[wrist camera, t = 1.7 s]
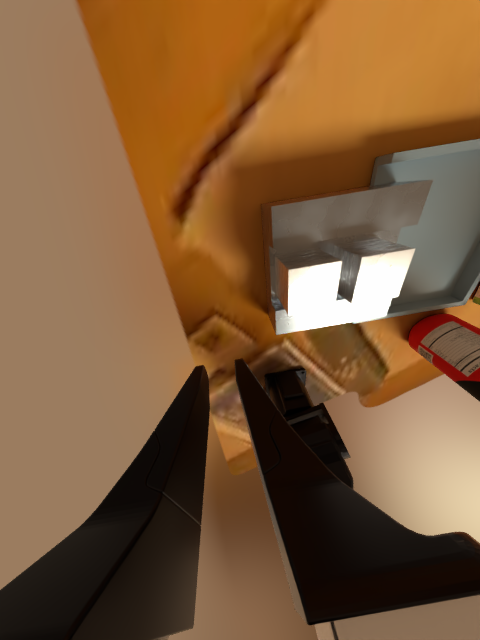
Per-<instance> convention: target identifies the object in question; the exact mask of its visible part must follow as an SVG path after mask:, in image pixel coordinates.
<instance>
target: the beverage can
mask: <svg viewBox="0 0 480 640" xmlns="http://www.w3.org/2000/svg"><path fill="white" fill-rule="evenodd" d="M408 341H409V345H410V346H411V348H413V349H414V350H415V351H416V352H418V353H419V354H420V355H421V356H423V357H424V358H425V359H426V360H428V361H429V362H430V363H432V364H433V365H434V366H435V367H437V368H438V369H439V370H440V371H442V372H443V373H444V374H446V375H447V376H448V377H449V378H451V379H452V380H453V381H454V382H456V383H457V384H458V385H459V386H461V387H462V388H463V389H465V390H466V391H467V392H468V393H470V394H471V395H472V396H473V397H475V398H476V399H477V400H479V401H480V329H479V328H477V327H475V326H473V325H471V324H469V323H467V322H465V321H463V320H461V319H459V318H457V317H455V316H453V315H450V314H438V315H433V316H429V317H426V318H424V319H422V320H421V321H419V322H418V323H417V324H415V325H414V327H413V328H412V329H411V331H410V333H409V339H408Z"/></svg>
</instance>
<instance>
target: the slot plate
mask: <svg viewBox="0 0 480 640" xmlns="http://www.w3.org/2000/svg"><path fill="white" fill-rule="evenodd" d="M432 182H433V179H432V180H418V181H404V182H394V183H388V184H382V185H376V186H367V187H361V188H355V189H349V190H343V191H337V192H331V193H325V194H319V195H313V196H307V197H301V198H295V199H290V200H284V201H278V202H272V203H266V204H261V212H262V228H263V243H264V258H265V274H266V289H267V304H268V316H269V318H270V321H271V323H272V326H273V328H274V330H275V333H276V335H278V334H284V333H290V332H296V331H302V330H308V329H314V328H319V327H325V326H331V325H337V324H343V323H349V322H355V321H360V320H366V319H372V318H378V317H384V316H386V314H387V311H388V308H389V306H390V303H391V300H392V298H387V299H381V300H376V301H370V302H364V303H358V304H351V303H349V302H348V301H347V300H346V299H344V298H343V297H342V296H341V295H340V294H338V293H337V295H336V301H335V307H334V308H329V309H323V310H317V311H311V312H305V313H299V314H293V315H288V314H287V312H286V311H285V309H284V307H283V305H282V304H281V302H280V300H279V299H278V297H277V295H276V273H275V255H281V254H287V253H293V252H299V251H304V250H310V249H316V248H319V249H321V250H323V251H324V252H326V253H328V254H330V255H332V256H333V252H334V245H340V244H346V243H352V242H358V241H364V240H370V239H376V238H379V239H382V240H386V241H390V242H394V243H397V240H398V237H399V233H400V230H401V227H407V226H413V225H418V222H419V220H420V217H421V214H422V211H423V208H424V205H425V202H426V199H427V197H428V194H429V191H430V188H431V185H432Z"/></svg>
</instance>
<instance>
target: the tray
mask: <svg viewBox="0 0 480 640" xmlns="http://www.w3.org/2000/svg"><path fill="white" fill-rule="evenodd" d="M432 179H433V182H432V185H431V188H430V191H429V194H428V197H427V199H426V202H425V205H424V208H423V211H422V214H421V217H420V220H419V222H418V225H413V226H407V227H401V230H400V233H399V237H398V240H397V244H401V245H405V246H408V247H412V248H416V249H415V251H414V254H413V257H412V259H411V262H410V265H409V268H408V270H407V273H406V276H405V279H404V281H403V284H402V287H401V290H400V292H399V295H398V297H393V298H392V300H391V303H390V306H389V308H388V311H387V314H386V316H384V317H378V318H372V319H366V320H360V321H355V322H352V323H353V324H355V323H361V322H367V321H372V320H378V319H384V318H390V317H396V316H402V315H408V314H413V313H419V312H425V311H431V310H437V309H443V308H449V307H454V306H460V305H465V304H466V302H467V301H468V299H469V297H470V296H471V294H472V292H473V291H474V289H475V287H476V286H477V284H478V282H479V281H480V139H475V140H469V141H463V142H457V143H451V144H445V145H439V146H433V147H427V148H421V149H415V150H409V151H403V152H397V153H392V154H388V155H384V156H379V157H376V159H375V164H374V169H373V174H372V179H371V184H370V186H376V185H382V184H388V183H394V182H404V181H418V180H432Z"/></svg>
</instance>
